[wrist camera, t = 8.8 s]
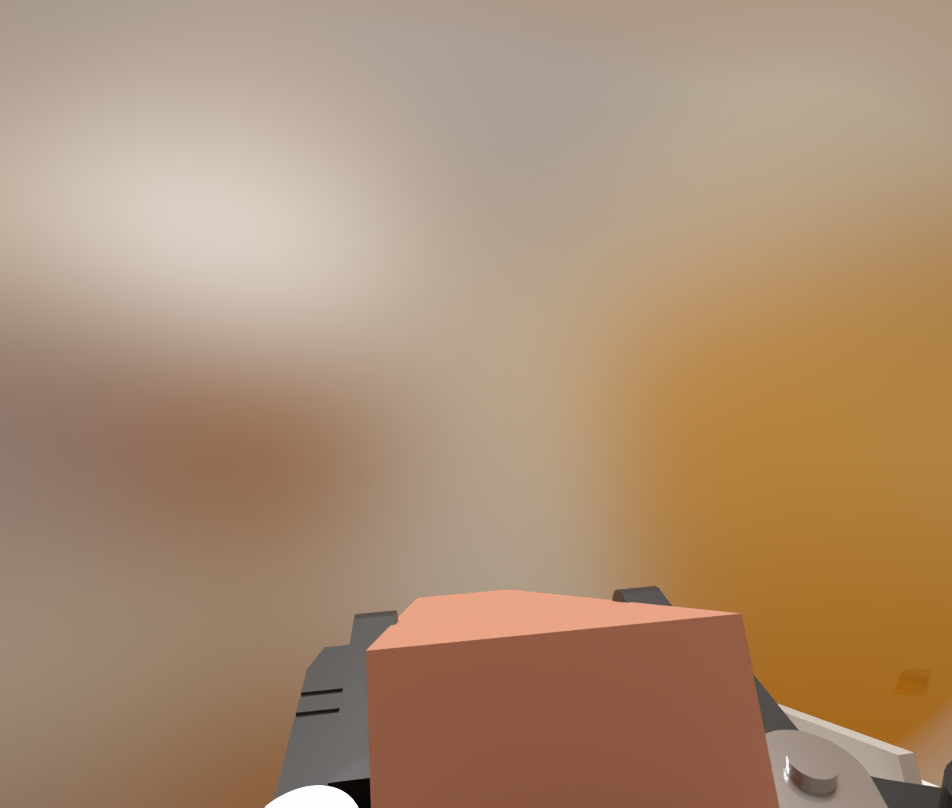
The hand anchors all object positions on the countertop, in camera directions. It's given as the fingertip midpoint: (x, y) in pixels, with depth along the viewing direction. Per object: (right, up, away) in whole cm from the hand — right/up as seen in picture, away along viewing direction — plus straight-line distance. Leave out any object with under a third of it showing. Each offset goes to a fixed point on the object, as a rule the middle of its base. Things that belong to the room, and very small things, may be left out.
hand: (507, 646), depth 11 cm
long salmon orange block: (0, -5, +4) cm, 7 cm away
